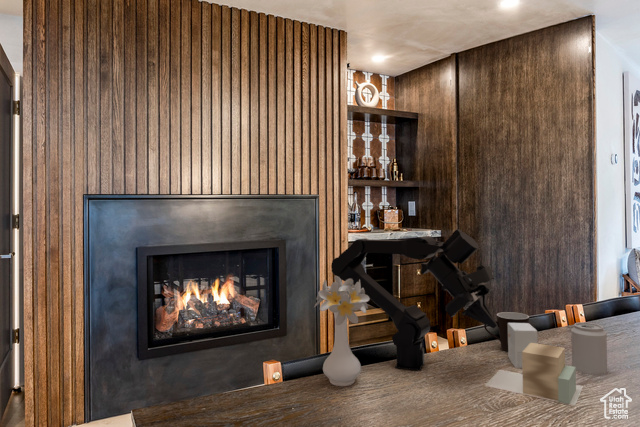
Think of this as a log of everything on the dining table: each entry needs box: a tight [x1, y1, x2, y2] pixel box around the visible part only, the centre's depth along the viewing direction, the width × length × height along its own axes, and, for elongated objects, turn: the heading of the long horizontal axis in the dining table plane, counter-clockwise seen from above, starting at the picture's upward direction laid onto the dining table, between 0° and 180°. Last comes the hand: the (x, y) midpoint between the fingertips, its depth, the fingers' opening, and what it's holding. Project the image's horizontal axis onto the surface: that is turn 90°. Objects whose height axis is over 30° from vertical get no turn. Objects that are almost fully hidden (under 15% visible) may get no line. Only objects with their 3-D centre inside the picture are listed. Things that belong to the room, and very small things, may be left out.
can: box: [570, 321, 608, 376], centre depth 109 cm, size 8×8×12 cm
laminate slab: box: [484, 369, 584, 407], centre depth 99 cm, size 18×12×1 cm, turn 52°
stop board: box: [557, 364, 577, 405], centre depth 94 cm, size 2×9×5 cm, turn 142°
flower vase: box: [313, 275, 371, 387], centre depth 106 cm, size 13×18×25 cm
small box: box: [507, 323, 539, 369], centre depth 114 cm, size 8×6×10 cm
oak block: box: [521, 343, 566, 401], centre depth 97 cm, size 7×8×9 cm
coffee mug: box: [483, 311, 530, 353], centre depth 128 cm, size 12×9×10 cm
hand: (495, 326), depth 103 cm, fingers closed
